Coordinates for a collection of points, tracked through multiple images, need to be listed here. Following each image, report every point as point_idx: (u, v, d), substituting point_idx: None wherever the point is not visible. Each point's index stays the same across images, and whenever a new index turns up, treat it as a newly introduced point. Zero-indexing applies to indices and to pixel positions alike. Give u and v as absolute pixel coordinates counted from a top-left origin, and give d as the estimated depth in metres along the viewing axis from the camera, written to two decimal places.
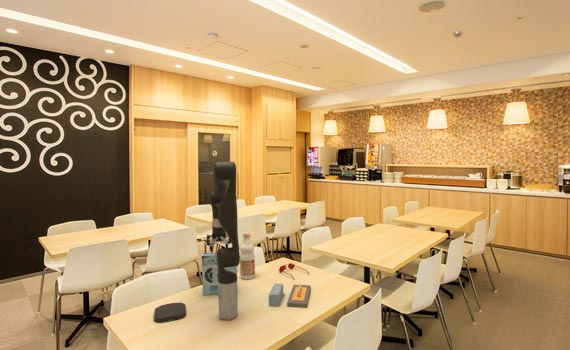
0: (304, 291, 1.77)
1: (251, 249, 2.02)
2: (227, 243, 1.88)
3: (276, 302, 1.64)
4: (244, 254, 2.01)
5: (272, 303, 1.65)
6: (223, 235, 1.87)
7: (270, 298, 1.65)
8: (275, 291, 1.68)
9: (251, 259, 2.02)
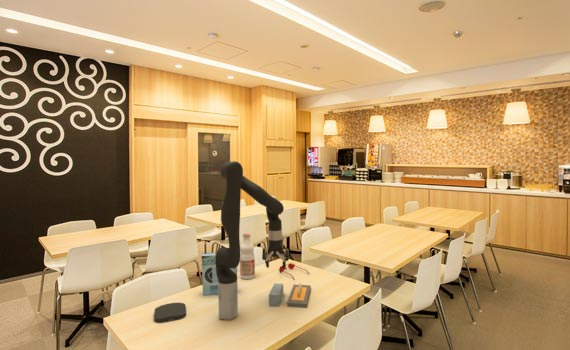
0: (304, 291, 1.77)
1: (251, 249, 2.02)
2: (284, 260, 1.69)
3: (276, 302, 1.64)
4: (244, 254, 2.01)
5: (272, 303, 1.65)
6: (279, 250, 1.69)
7: (270, 298, 1.65)
8: (275, 291, 1.68)
9: (251, 259, 2.02)
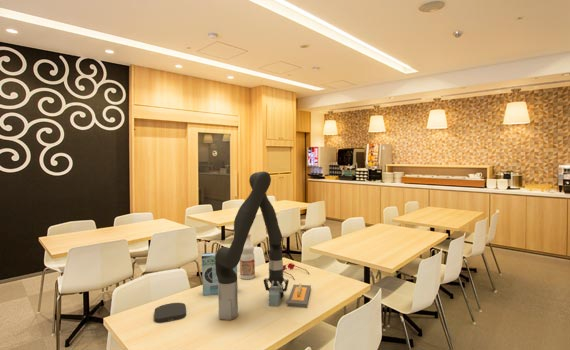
0: (304, 291, 1.77)
1: (251, 249, 2.02)
2: (282, 291, 1.70)
3: (276, 302, 1.64)
4: (244, 254, 2.01)
5: (272, 303, 1.65)
6: (280, 280, 1.70)
7: (270, 298, 1.65)
8: (275, 291, 1.68)
9: (251, 259, 2.02)
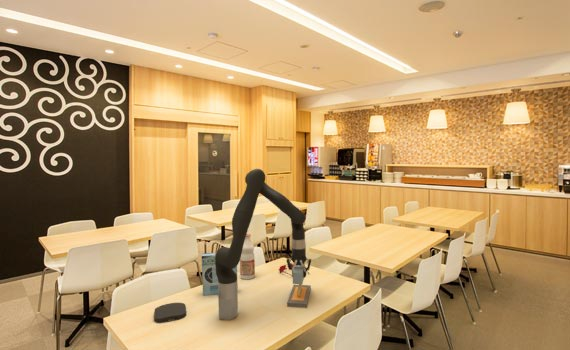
0: (304, 291, 1.77)
1: (251, 249, 2.02)
2: (304, 270, 1.73)
3: (300, 280, 1.67)
4: (244, 254, 2.01)
5: (296, 281, 1.67)
6: (303, 260, 1.73)
7: (294, 276, 1.67)
8: (298, 270, 1.71)
9: (251, 259, 2.02)
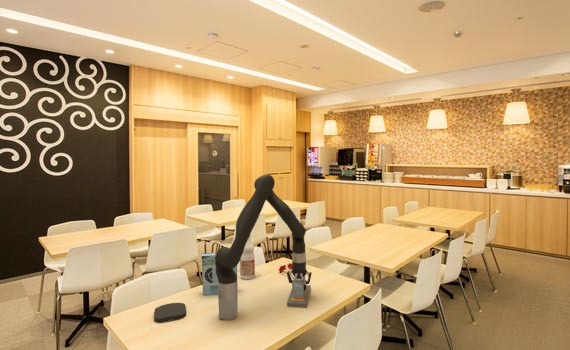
0: (304, 291, 1.77)
1: (251, 249, 2.02)
2: (305, 283, 1.73)
3: (300, 294, 1.67)
4: (244, 254, 2.01)
5: (296, 295, 1.68)
6: (303, 273, 1.73)
7: (294, 290, 1.68)
8: (298, 283, 1.71)
9: (251, 259, 2.02)
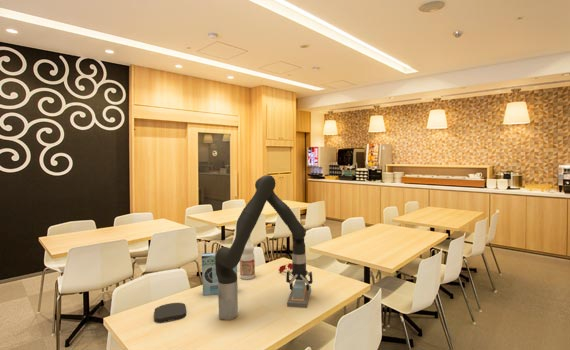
0: None
1: (251, 249, 2.02)
2: (307, 283, 1.72)
3: (300, 295, 1.67)
4: (244, 254, 2.01)
5: (296, 296, 1.67)
6: (303, 273, 1.73)
7: (294, 291, 1.67)
8: (298, 285, 1.71)
9: (251, 259, 2.02)
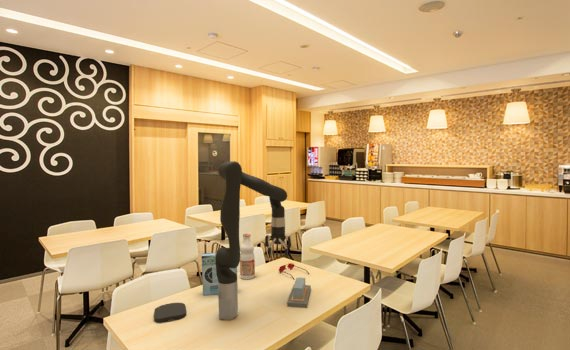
0: None
1: (251, 249, 2.02)
2: (286, 247, 1.71)
3: (300, 295, 1.67)
4: (244, 254, 2.01)
5: (296, 296, 1.67)
6: (282, 237, 1.71)
7: (294, 291, 1.67)
8: (298, 285, 1.71)
9: (251, 259, 2.02)
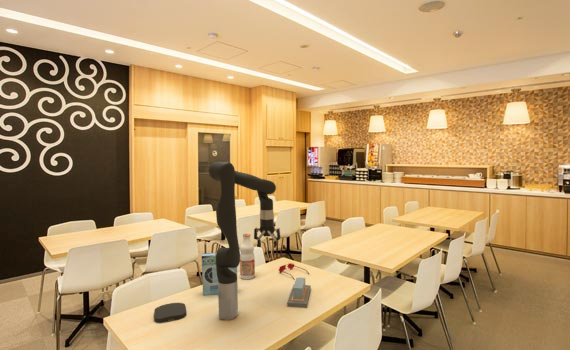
0: None
1: (251, 249, 2.02)
2: (275, 239, 1.71)
3: (300, 295, 1.67)
4: (244, 254, 2.01)
5: (296, 296, 1.67)
6: (271, 230, 1.71)
7: (294, 291, 1.67)
8: (298, 285, 1.71)
9: (251, 259, 2.02)
